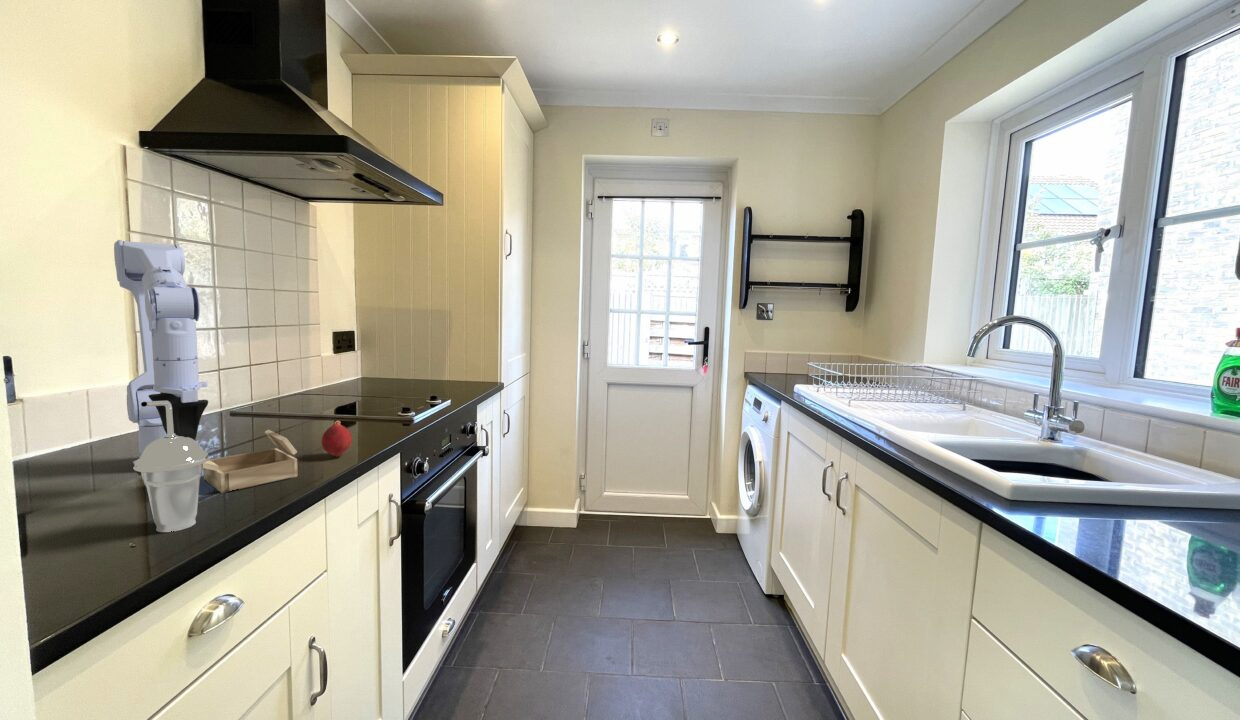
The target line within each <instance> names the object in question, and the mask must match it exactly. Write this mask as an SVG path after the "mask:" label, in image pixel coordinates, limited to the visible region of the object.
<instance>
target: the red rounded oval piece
mask: <svg viewBox="0 0 1240 720" xmlns="http://www.w3.org/2000/svg"><path fill="white" fill-rule="evenodd" d="M341 423H342V422H341V420H336V421H335V422H334V423H333V424H332V425H331V426H329V427H328V428H327V429H326V430H325V431H324V432H323V434H322V437H321V447H322V448H323V450H324V451H325V452H326V453H328V454H329V455H331V456H333V457H336V458H339V457H341V456H342V455H343V454H344V453H346V452H347V451H348V450H349V449H350V448H351V446H352V445H353V444H352V443H353V435H352V433H351V431H350V430H349V429H348V428H347V427H345V426H344V425H342V424H341Z"/></svg>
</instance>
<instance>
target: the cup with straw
mask: <svg viewBox="0 0 1240 720" xmlns="http://www.w3.org/2000/svg"><path fill="white" fill-rule="evenodd" d="M163 405H165V407H166V419H167V435H168V436H164V437H161V438H159V439H156V440H154V441H153V442H151V443H150V444H149V445H148V446H147V447H146V448H145V449H144V451H143V453H142V455H141V457H140V458H138V459H136V460H134V461H135V462H134V464H133V467H132V468H133V470H134V471H135V472H139V473H140V475H141V479H142V481H143V483H144V484H143V485H144V486H145V487H146V491H147V494H148V501H149V504H150V509H151V513H152V517H153V522H154V524H155V526H156V528H155V531H156V532H158V533H172V532H173V531H174V532H178V531H182V530H185V529H188V528H191V527H192V526H194V525H196V523H197V521H196V517H197V515H198V504H199V494H200V483H201V481H200V480H201V477H202V472H204V471H203V463H205V462H207V461H208V460H210V459H211V458H210V456H209V453H208V452H207V451H206V450H203V449H202V447H201V446H200V444H199V443H198V442H197V441H196V439H195V440H193V439H192V438H189V437H187V436H182V435H174V430H173V413H172V405H171V403H170V402H169V401H146V402H142V403H141V406H143V407H147V406H163ZM171 531H172V532H171Z"/></svg>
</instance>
